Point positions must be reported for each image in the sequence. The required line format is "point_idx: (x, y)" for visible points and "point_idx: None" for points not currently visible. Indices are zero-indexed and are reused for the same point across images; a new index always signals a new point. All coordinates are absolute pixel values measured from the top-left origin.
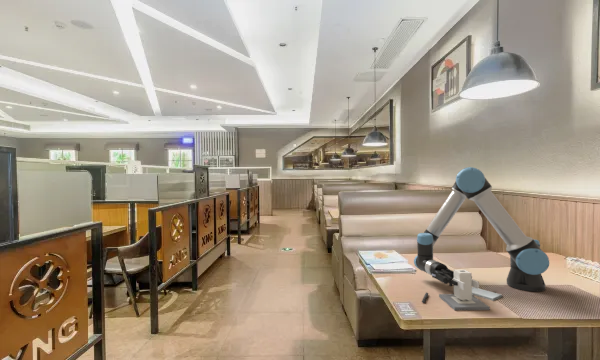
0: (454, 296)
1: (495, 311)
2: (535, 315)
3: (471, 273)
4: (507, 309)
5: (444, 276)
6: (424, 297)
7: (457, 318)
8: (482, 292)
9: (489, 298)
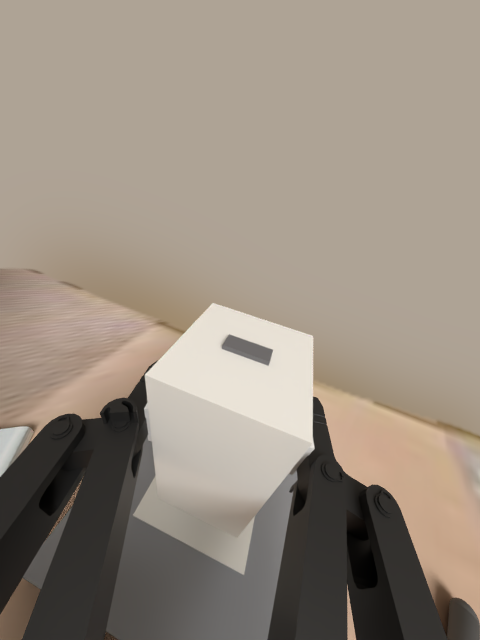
0: (205, 575)
1: None
2: (107, 314)
3: (213, 305)
4: (117, 357)
5: (389, 584)
6: None
7: (326, 386)
8: None
9: (20, 449)
